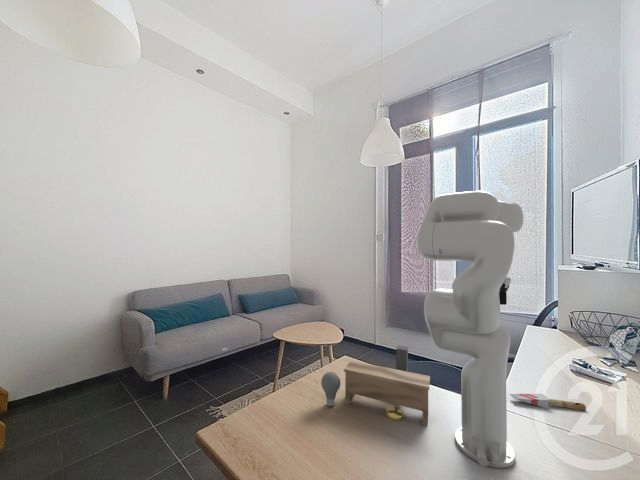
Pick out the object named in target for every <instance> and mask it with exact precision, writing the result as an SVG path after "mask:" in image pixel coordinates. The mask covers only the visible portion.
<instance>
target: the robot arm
mask: <svg viewBox="0 0 640 480" xmlns="http://www.w3.org/2000/svg"><path fill="white" fill-rule="evenodd" d="M523 224H524V212H523V209H522V207H521V206H520V205H519V204H518V203H515V202H509V201H503V200H498V199H497V197H496V196H495V195H494V194H493V193H490V192H487V191H484V190H474V191H473V190H471V191H462V192H461V191H460V192H453V193H445V194H443V193H442V194H440V195H437V196H436V197H434V198H433V199H432V201H431V202H430V203H429V206H428V207H427V210H426V212H425V215H424V217H423V220H422V223H421V225H420V228H419V231H418V233H417V234H418V235H417V241H416V242H417V249H418V253H420V255H421V256H422V258H424V259H426V260H429V261H442V262H443V261H444V262H446V261H447V262H471V263H472V262H473V263H472V264H470V265H469V266H468V267H466V268H465V269H463V270H462V271H461V272H460V273H459V274H458V275H457V276H456V277H455V278H454V279H453V281H452V285H451V289H450V288H434V289H431V290H430V291H429V292H427V294H426V296H425V297H424V302H423V303H424V304H423V314H424V320H425V322H426V326H427V329H428V331H429V334H430V337H431V340H432V342H433V344H434V345H435V346H436V347H437V348H439V349H440V350H444V351H448V352H452V353H456V354H461V355H465V356H468V357H471V359H470V360H469V361H467V362H466V363H465V365H464V366H463V367H462V369H461V375H460V377H461V378H460V381H461V383H460V384H461V393H460V394H461V426H460V427H459V428H457V429H456V431H455V432H454V440H455V443H456V445H457V447H458V448H459V449H460V451H462V452H463V454H464V455H466V456H467V457H469V458H470V459H472V460H474V462H477V463H479V464H480V465H481V466H482V467H487V466H488V467H491V468H495V469H496V468H497V469H505V468H509V467H511V466H513V464H515V461H516V452H515V450H514V448H513V447H512V445H511V444H510V443H509V442H508V441H507V440H508V438H507V437H508V434H507V433H508V428H507V422H508V421H507V420H508V419H507V418H508V417H507V368H508V360H509V359H508V358H509V352H510V347H511V335H510V332H509V330H508V328H506V326H504V325H503V324H501V317H502V316H501V305H507V303H508V302H507V298H508V297H507V292H508V291H509V288H510V284H511V281H512V279H511V277H509V276H508V274H509V271H510V269H511V266H512V262H513V258H514V255H515V234H514V233H518V232H519V231H521V230H522V227H523Z"/></svg>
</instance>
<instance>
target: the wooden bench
mask: <svg viewBox="0 0 640 480" xmlns="http://www.w3.org/2000/svg"><path fill="white" fill-rule="evenodd" d="M343 372H345V378H344V379H345V381H344V382H345V384H344V385H345V391H344V393H345V398H344V399H345V401H344V402H345V405H348V406H349V405H350V404H351V403H352V401H353V399H354V397H355V395H356V396H361V397H364V398H367V399H373V400H377V401H381V402H385V403H388V404H392V405H395V406H400V407H404V408H408V409H413V410H416V411H420V412H422V426H425V427H428V421H429V391H430V387H431V376H430V375H427V374H421V373H417V372H416V373H415V372H412V371H411V372H410V371H408V372H407V371H401V370H396V368H391V367H386V366H382V365H381V366H380V365H374V364H370V363H366V362H360V361H355V360H354V361H353V360H350V361H349V362H348V364H347V365H346V366H345V367H344V369H343Z"/></svg>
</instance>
